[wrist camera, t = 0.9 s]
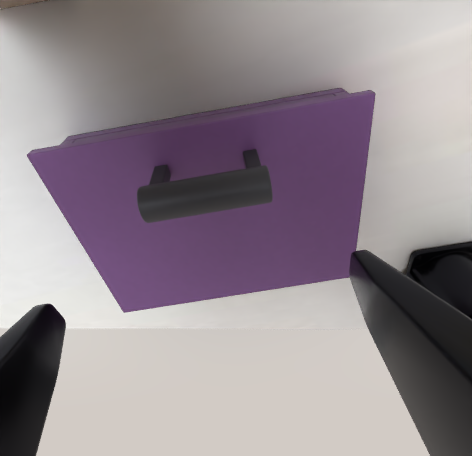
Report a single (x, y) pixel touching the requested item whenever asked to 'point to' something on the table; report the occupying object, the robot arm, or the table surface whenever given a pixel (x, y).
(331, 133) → the lid
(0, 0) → the photo frame
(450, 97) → the table surface
